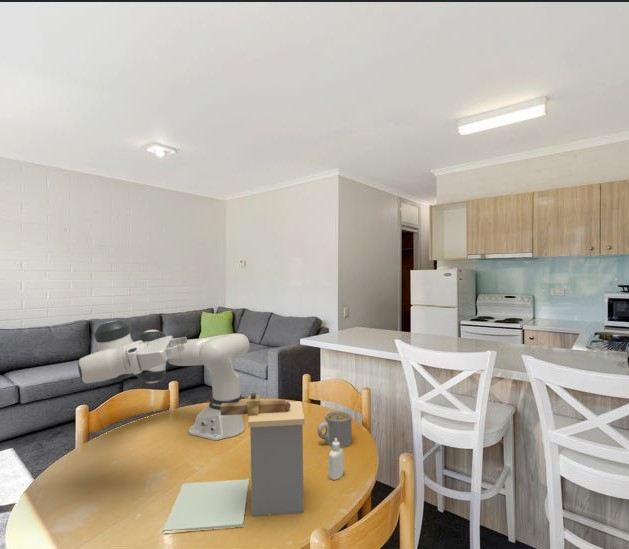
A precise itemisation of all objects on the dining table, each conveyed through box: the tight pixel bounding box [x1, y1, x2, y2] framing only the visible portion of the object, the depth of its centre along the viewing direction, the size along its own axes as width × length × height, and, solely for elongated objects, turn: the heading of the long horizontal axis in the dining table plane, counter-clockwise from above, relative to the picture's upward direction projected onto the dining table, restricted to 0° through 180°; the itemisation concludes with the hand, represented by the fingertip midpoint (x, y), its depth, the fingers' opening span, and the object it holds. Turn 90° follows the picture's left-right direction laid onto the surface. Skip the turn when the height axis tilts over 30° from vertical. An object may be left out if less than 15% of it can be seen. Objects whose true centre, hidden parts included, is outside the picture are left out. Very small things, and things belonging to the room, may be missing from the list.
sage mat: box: [162, 478, 250, 533], centre depth 103 cm, size 20×20×1 cm
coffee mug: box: [317, 410, 353, 449], centre depth 140 cm, size 13×10×10 cm
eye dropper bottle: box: [328, 438, 345, 481], centre depth 117 cm, size 4×6×12 cm
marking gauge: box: [221, 392, 290, 417], centre depth 104 cm, size 20×5×5 cm, turn 96°
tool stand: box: [247, 400, 305, 517], centre depth 105 cm, size 15×13×26 cm
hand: (185, 343), depth 113 cm, fingers open, 8 cm apart
